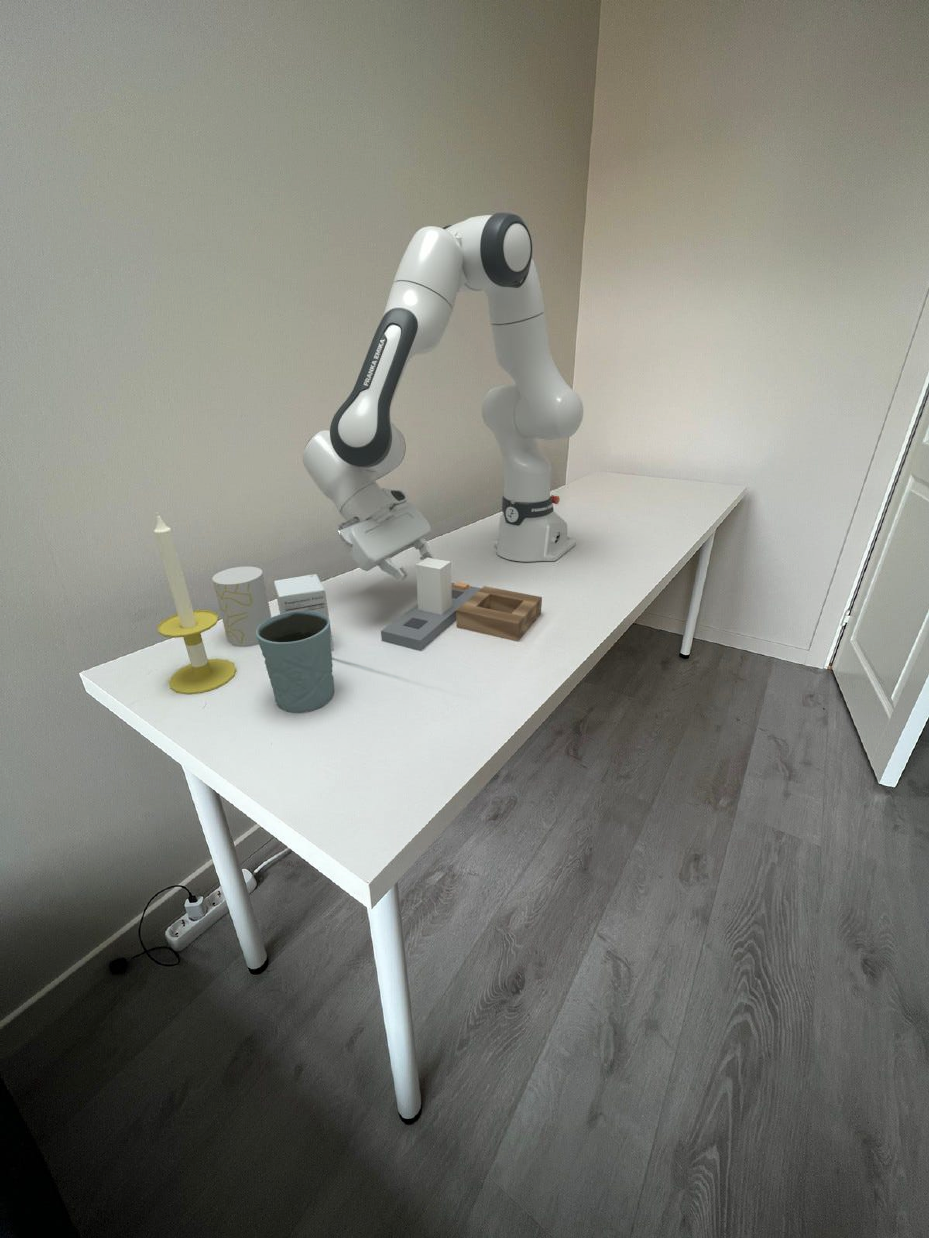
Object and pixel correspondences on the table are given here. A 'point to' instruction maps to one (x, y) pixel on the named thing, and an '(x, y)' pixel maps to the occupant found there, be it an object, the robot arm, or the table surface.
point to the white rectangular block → (434, 585)
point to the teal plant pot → (298, 659)
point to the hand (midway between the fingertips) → (417, 569)
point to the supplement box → (302, 596)
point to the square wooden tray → (499, 613)
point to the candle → (189, 627)
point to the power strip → (426, 621)
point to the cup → (242, 603)
